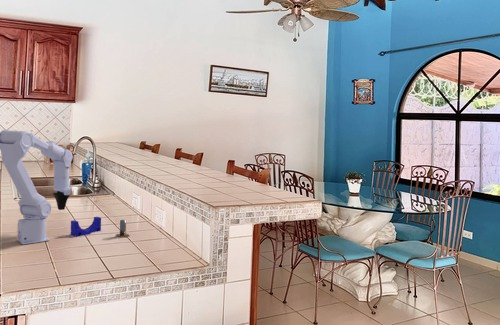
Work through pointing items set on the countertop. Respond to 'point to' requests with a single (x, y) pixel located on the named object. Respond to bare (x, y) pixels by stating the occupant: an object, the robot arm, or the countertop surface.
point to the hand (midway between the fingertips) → (61, 209)
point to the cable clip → (92, 228)
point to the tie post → (122, 229)
